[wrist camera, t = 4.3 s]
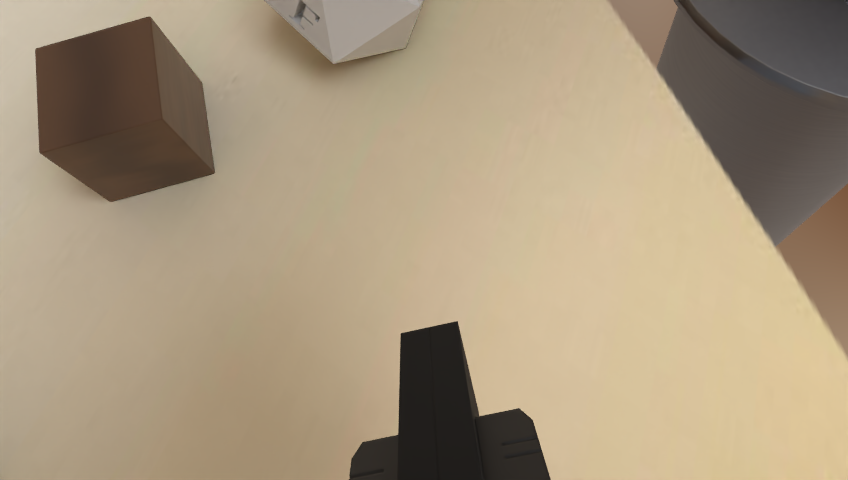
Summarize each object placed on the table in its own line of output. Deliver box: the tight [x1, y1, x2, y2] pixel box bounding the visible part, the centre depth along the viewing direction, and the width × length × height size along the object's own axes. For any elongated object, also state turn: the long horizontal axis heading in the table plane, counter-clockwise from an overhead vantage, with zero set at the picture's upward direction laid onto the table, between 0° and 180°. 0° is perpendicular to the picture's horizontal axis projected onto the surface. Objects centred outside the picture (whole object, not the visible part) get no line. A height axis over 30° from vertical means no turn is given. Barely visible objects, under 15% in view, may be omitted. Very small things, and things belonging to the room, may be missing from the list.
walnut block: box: [35, 17, 215, 202], centre depth 35 cm, size 6×6×6 cm
